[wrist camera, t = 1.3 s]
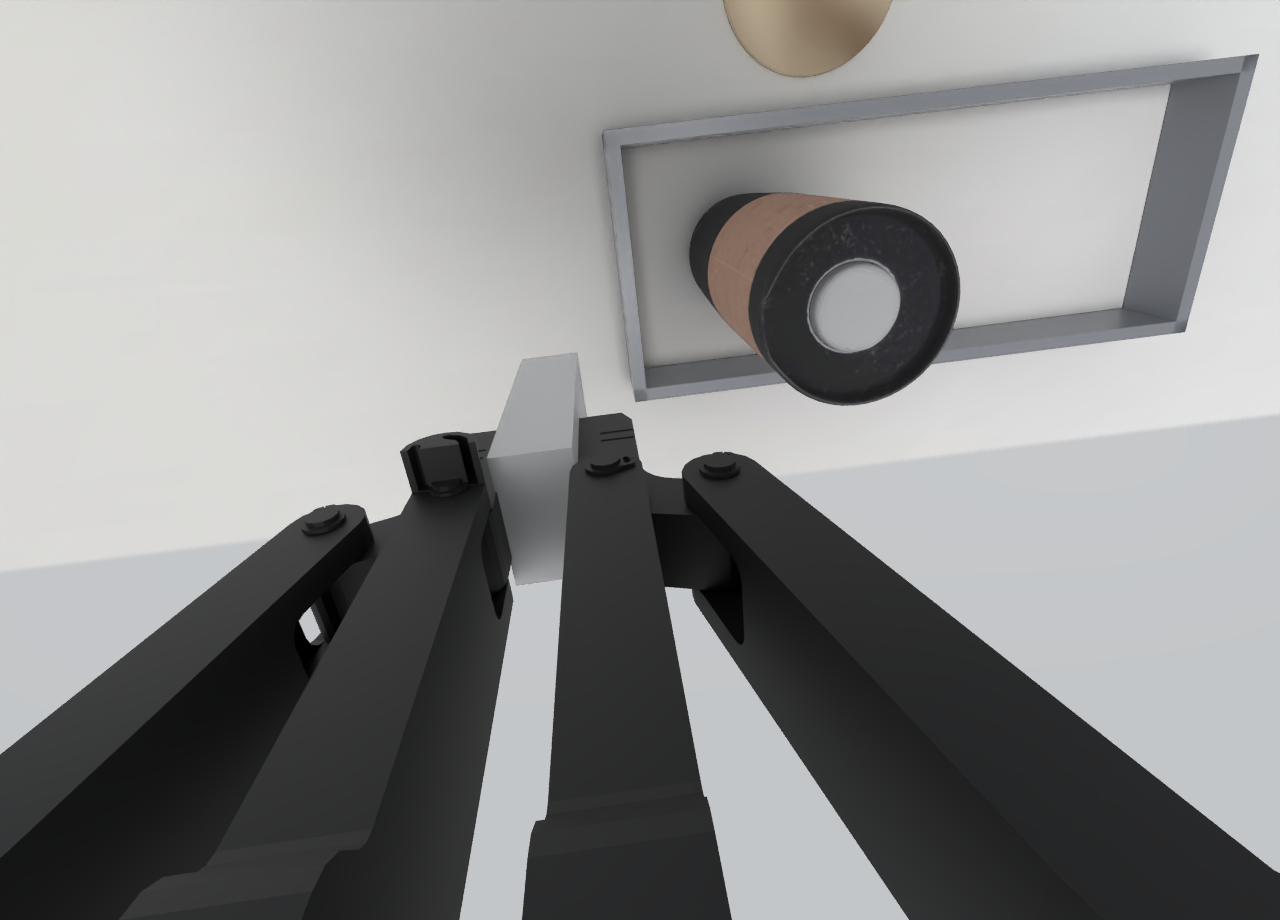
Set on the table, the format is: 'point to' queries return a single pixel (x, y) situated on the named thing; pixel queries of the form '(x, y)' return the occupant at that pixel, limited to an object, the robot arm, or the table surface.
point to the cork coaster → (805, 31)
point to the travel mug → (829, 289)
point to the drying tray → (1187, 145)
